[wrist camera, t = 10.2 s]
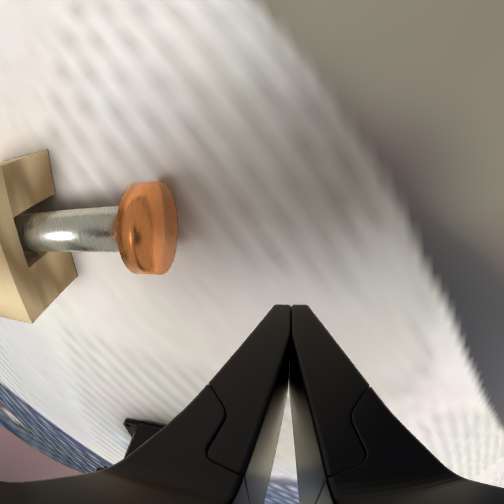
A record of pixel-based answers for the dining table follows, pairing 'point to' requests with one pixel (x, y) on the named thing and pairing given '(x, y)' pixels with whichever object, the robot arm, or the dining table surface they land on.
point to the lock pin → (111, 229)
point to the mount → (10, 250)
